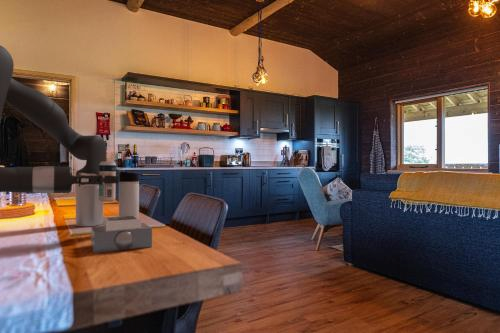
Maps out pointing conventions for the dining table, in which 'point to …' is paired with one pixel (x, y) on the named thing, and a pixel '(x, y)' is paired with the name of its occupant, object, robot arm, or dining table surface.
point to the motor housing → (120, 234)
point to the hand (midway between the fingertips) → (116, 179)
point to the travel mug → (128, 194)
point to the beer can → (109, 189)
